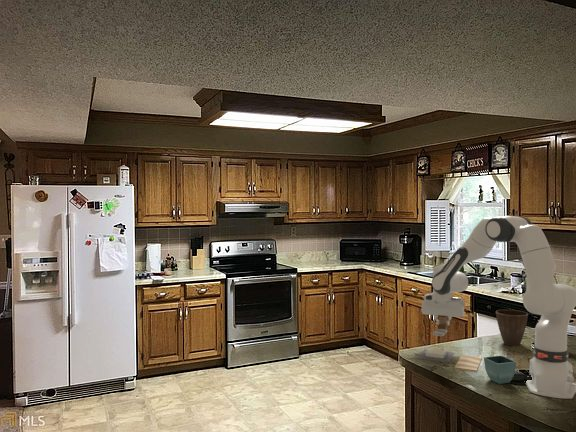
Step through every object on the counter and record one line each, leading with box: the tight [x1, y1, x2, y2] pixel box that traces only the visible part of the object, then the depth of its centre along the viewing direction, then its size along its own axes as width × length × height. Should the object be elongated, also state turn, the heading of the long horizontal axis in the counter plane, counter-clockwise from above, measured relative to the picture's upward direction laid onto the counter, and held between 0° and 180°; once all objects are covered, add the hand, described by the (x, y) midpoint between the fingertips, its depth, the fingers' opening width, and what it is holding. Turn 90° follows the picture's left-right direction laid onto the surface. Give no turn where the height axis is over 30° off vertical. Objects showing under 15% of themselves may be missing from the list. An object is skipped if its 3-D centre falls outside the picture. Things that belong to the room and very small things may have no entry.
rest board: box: [454, 354, 483, 373], centre depth 219 cm, size 20×9×1 cm, turn 153°
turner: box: [432, 315, 448, 337], centre depth 238 cm, size 15×5×7 cm, turn 152°
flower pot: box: [483, 355, 517, 385], centre depth 197 cm, size 9×9×9 cm
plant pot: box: [495, 309, 529, 347], centre depth 251 cm, size 15×15×16 cm
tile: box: [426, 347, 448, 359], centre depth 231 cm, size 2×8×8 cm
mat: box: [417, 348, 455, 363], centre depth 231 cm, size 16×14×1 cm
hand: (442, 324), depth 243 cm, fingers closed on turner, 3 cm apart
